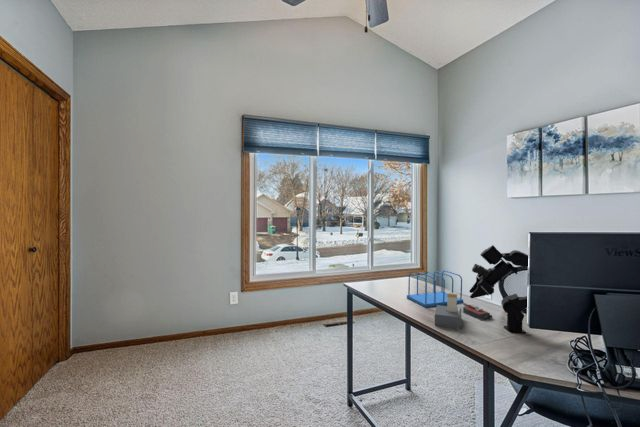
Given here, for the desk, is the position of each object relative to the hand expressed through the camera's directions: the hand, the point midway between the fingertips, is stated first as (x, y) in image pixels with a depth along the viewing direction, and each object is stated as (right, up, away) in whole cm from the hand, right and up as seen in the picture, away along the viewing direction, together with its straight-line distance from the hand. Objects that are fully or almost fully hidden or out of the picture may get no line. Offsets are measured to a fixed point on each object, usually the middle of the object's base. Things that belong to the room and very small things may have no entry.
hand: (470, 294), depth 146 cm
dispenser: (-8, -13, +4) cm, 16 cm away
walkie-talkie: (+9, -14, +16) cm, 23 cm away
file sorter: (-3, -13, +36) cm, 39 cm away
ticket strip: (-7, -13, +3) cm, 15 cm away
